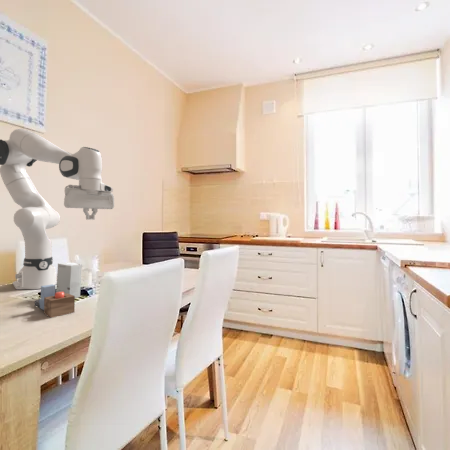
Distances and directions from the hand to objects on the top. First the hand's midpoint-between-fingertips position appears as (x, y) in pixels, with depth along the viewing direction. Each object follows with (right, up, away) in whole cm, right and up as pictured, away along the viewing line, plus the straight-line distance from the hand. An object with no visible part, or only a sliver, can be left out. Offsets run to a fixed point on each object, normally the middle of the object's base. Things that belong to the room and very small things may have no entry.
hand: (90, 219), depth 124 cm
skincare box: (-11, -34, +4) cm, 36 cm away
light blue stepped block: (-10, -34, -13) cm, 38 cm away
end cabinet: (-4, -35, -16) cm, 38 cm away
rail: (-12, -34, -11) cm, 38 cm away
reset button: (-4, -30, -16) cm, 34 cm away
